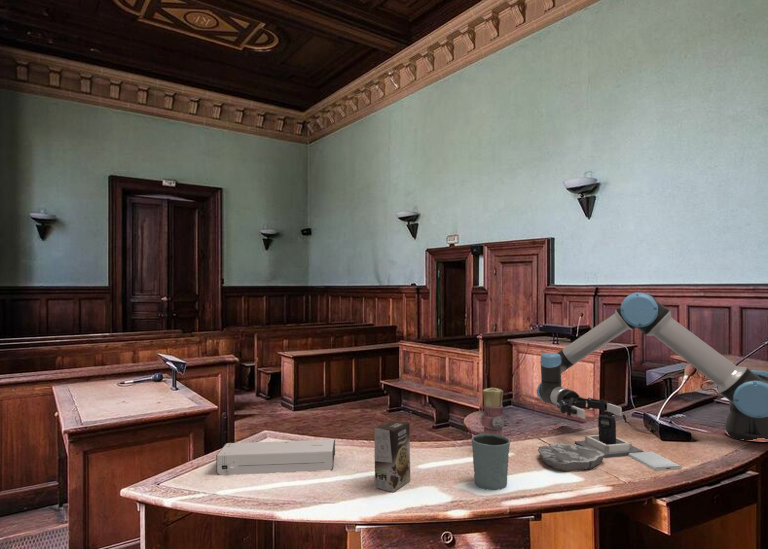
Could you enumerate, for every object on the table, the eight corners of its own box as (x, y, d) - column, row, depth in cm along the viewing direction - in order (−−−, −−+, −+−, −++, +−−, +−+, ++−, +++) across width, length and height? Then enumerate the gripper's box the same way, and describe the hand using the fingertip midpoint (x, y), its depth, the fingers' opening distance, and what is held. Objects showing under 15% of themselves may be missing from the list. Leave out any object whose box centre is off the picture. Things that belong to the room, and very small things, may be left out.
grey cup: (470, 476, 137) (469, 433, 137) (506, 476, 137) (505, 433, 137) (475, 491, 127) (474, 445, 127) (514, 491, 126) (513, 444, 127)
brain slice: (568, 449, 159) (568, 440, 159) (613, 465, 144) (613, 455, 144) (522, 459, 150) (522, 450, 151) (565, 478, 135) (565, 467, 135)
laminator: (335, 458, 155) (334, 439, 155) (333, 473, 142) (333, 451, 143) (226, 462, 153) (226, 442, 153) (215, 477, 140) (215, 456, 141)
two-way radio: (596, 445, 159) (595, 399, 159) (603, 442, 162) (601, 396, 162) (614, 449, 155) (612, 401, 155) (620, 446, 158) (618, 399, 158)
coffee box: (394, 493, 127) (393, 430, 127) (374, 488, 130) (373, 427, 131) (411, 481, 134) (410, 422, 135) (391, 476, 138) (390, 419, 138)
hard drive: (628, 452, 151) (655, 466, 139) (652, 451, 152) (681, 465, 140) (628, 458, 151) (655, 472, 139) (652, 456, 152) (681, 470, 140)
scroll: (480, 455, 154) (479, 391, 155) (480, 447, 162) (478, 387, 162) (505, 456, 153) (503, 392, 154) (503, 448, 160) (502, 387, 161)
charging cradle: (614, 440, 166) (613, 431, 166) (643, 454, 153) (643, 444, 153) (574, 444, 163) (574, 435, 163) (601, 458, 150) (600, 448, 150)
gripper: (595, 407, 183) (636, 421, 162) (535, 411, 178) (568, 427, 157) (595, 387, 183) (635, 399, 163) (534, 391, 178) (568, 404, 157)
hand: (602, 413), depth 160 cm, fingers open, 13 cm apart
